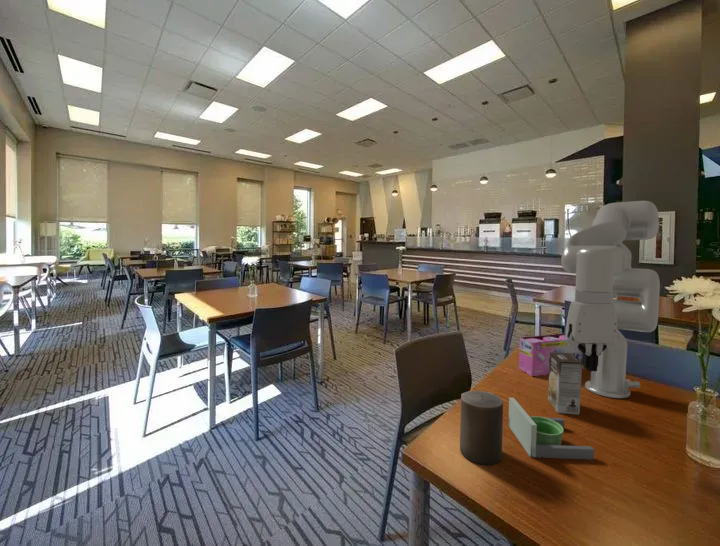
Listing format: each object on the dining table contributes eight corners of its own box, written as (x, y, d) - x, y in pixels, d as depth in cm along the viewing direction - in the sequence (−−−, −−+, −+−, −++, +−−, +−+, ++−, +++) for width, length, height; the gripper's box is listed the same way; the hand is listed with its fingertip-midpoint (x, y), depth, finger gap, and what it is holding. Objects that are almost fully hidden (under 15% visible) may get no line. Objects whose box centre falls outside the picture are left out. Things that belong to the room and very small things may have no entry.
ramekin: (556, 456, 81) (557, 439, 81) (517, 441, 87) (518, 424, 87) (567, 441, 87) (568, 424, 87) (530, 427, 94) (531, 412, 93)
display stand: (561, 426, 94) (563, 398, 93) (593, 459, 80) (595, 426, 79) (508, 425, 95) (509, 397, 94) (530, 457, 81) (531, 425, 80)
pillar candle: (498, 470, 76) (501, 406, 75) (455, 457, 81) (456, 396, 80) (504, 448, 84) (506, 390, 83) (464, 437, 89) (465, 382, 88)
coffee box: (546, 399, 110) (548, 351, 109) (568, 401, 109) (570, 352, 108) (557, 413, 101) (559, 361, 100) (581, 415, 100) (583, 362, 99)
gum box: (566, 364, 142) (568, 332, 141) (583, 371, 134) (585, 337, 133) (517, 370, 136) (518, 337, 135) (532, 377, 129) (533, 342, 128)
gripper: (614, 294, 87) (611, 364, 88) (554, 295, 88) (551, 363, 90) (636, 300, 79) (631, 375, 81) (569, 300, 80) (566, 375, 82)
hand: (589, 369), depth 85 cm, fingers closed
